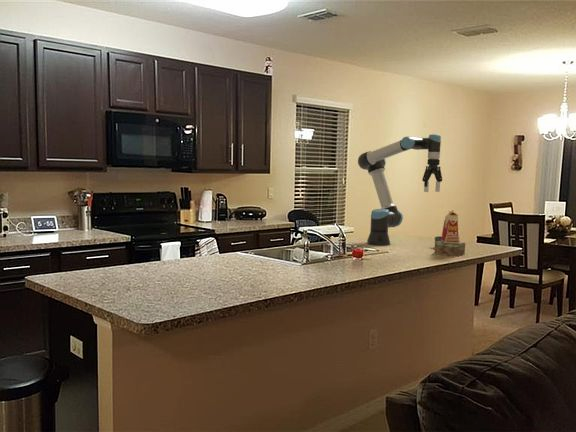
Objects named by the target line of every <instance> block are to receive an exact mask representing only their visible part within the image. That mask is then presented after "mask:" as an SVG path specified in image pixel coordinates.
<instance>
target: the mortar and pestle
mask: <svg viewBox="0 0 576 432" xmlns="http://www.w3.org/2000/svg"><path fill="white" fill-rule="evenodd" d="M441 239H442V235H440V236H434V243H435V242H438V241H441Z"/></svg>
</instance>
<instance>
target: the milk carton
mask: <svg viewBox="0 0 576 432" xmlns="http://www.w3.org/2000/svg"><path fill="white" fill-rule="evenodd" d="M454 211H455V210H450V211H448V214H446V215H445V217H444V221H443V227H442V233H441V237H442V239H441V241H442V242H444V243H455V244H460V242H461V241H460V235H459V231H460V230H459V215H458V214H457V213H456V212H454Z"/></svg>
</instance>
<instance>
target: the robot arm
mask: <svg viewBox="0 0 576 432" xmlns="http://www.w3.org/2000/svg"><path fill="white" fill-rule="evenodd" d="M441 139H442V137H441V134H433V133H432V134H429V136H428V137H415V136H404V137H403V138H402V139H401V140H398V141H395V142H393V143H390V144H388V145H386V146H383V147H380V148H378V149H375V150H372V151H371V150H368V151H366V152H362V153H361V154H360V155H359V156H358V159H357V164H358V167H359V168H360V169H362V170H365V171H367V172H368V175H369V176H371V178H372V181H373V185H374V188H375V191H376V195H377V197H378V200H379V204H380V208H377V209H376V208H375V209H373V210H371V213H370V232H369V236H368V238H367V241H366V244H367V245H373V246H389V245H391V240H390V236H389V228H396V227H399V226H400V225H401V224H402V222H403V219H404V216H403V214H402V211H400V210H398V207H397V205H396V204H394V201H393V198H392V195H391V192H390V189H389V186H388V182H387V180H386V176H385V173H384V172H385V171H386V168H385V167H386V162H387V161H386V159H387V158H390V157H392V156H396V155H399V154H401V153H403V152H406V151H409V150H415V151H417V150H418V151H419V150H427V163H426V164H427V165H426V166H425V169H424V173H423V176H422V178H421V179H422V182H423V184H424V185H423V186H424V187H423V192H424V193H429V189H430V188H429V187H430V181H429V180H430V178H431V177H432V175H434V178H435V180H436V181H435V191H434V192H437V193H440V191H441V190H440V189H441V183H442V182H443V175H442V171H441V166H439V165H440V163H441V162H440V158H441V146H442V145H441V144H442V140H441Z"/></svg>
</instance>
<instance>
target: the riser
mask: <svg viewBox="0 0 576 432" xmlns="http://www.w3.org/2000/svg"><path fill="white" fill-rule="evenodd" d="M466 245H467V243H466V242H461V241H460V244H455V243H444V242H442V241H438V242H435V241H434V253H433V254H437V253H438V254H437V255H443V254H444V256H448V257H449V256H450V257H455V256H457V255H458V256H463V255H465V254H466V253H465V252H466V251H465V250H466Z"/></svg>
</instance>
